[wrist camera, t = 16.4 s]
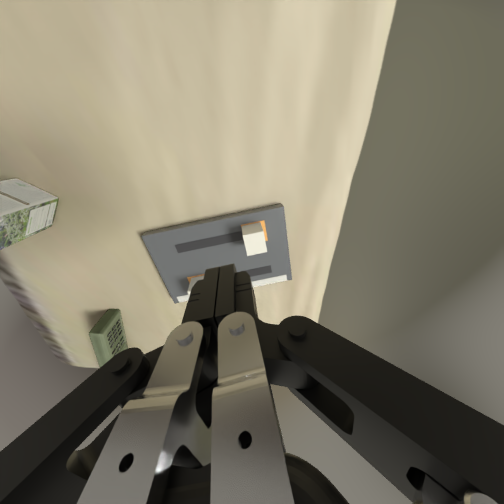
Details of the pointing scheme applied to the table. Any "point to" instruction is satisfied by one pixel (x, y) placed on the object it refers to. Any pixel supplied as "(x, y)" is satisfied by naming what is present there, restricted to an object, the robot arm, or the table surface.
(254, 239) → the inner switch
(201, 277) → the outer switch
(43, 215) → the syrup box
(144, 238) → the switch panel
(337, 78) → the table surface
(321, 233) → the table surface
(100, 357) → the handheld radio
